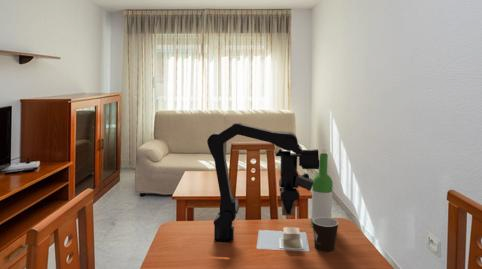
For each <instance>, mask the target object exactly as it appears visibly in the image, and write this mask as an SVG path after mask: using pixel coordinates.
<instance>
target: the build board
mask: <svg viewBox="0 0 482 269" xmlns="http://www.w3.org/2000/svg"><path fill="white" fill-rule="evenodd" d="M257 233H258V234H257V240H256V249H257V250H258V249H259V250H274V251H275V250H276V251H278V250H279V251H291V252H292V251H294V252H311V251H310V248H309V242H308V237H307V232H305V231H300V247H299V248H292V247H283V230H270V229H269V230H268V229H267V230H265V229H258V232H257Z"/></svg>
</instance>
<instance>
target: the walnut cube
mask: <svg viewBox="0 0 482 269" xmlns="http://www.w3.org/2000/svg"><path fill="white" fill-rule="evenodd" d="M281 216H286V217H287V216H289V217H290V216H292V217H295V216H296V200H295V201H294V202H293V205H292V209H291V213H290V214H287V212H286V210H285V207H284V205H283V202H282V201H281Z"/></svg>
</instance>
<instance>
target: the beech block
mask: <svg viewBox="0 0 482 269" xmlns="http://www.w3.org/2000/svg"><path fill="white" fill-rule="evenodd" d="M282 231H283V247H292V248H299V247H300V232H301V231H300V228H299V227H290V226H289V227H287V226H285V227H284V226H283V230H282Z"/></svg>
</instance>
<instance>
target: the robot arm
mask: <svg viewBox="0 0 482 269" xmlns="http://www.w3.org/2000/svg"><path fill="white" fill-rule="evenodd" d="M236 136H243V137H247V138H251V139H255V140H259V141H262V142H267V143H270V144H271V145H274V146H276V147H278V148H279V149H278V150H277V151H276V152H275V157H280V179H279V180H278V186H279V197H280V198H279V199H280V200H281V203H282V202H283V205H284V207H285V210H286V212H287V214H290V213H291V209H292V205H293V202H294V201H295V202H296V201H299V200H300V196H301V195H300V191H299V190H298V189H299V187H300V188H302V189H305V190H307V191H309V192H311V191H312V189H313V183H314V182H313V180H314V179H312V178H310V175H309V173H306V172H304V173H303V174H299V172H298V166H299V167H301V169H302V170H319V166H320V153H319V149H314V148H313V149H303V148H302V146H300V144H299V143H298V138H297V135H296V134H295V133H293V132H292V131H283V130H282V131H280V130H279V131H273V130H268V129H264V128H260V127H257V126H252V125H247V124H244V123H241V122H239V121H238V122H234V123H233V124H232V125H230V127H228V128H226V129H224V130H222V131H216V132H214V133H212V134H211V135H210V136H208V138H207V142H206V143H207V147H208V150H209V152H210V155H211V156H212V158H213V160H214V165H215V171H216V172H215V173H216V178H217V184H218V190H219V196H220V199H219V200H220V201H219V212H218V213H217V215H216V217H215V219H214V220H213V225H214V234H213V235H214V238H213V242H214V243H232V241H233V240H234V238H235V226H233V222H234V221H235V219H236V217H237V214H238V212H239V209H240V205H239V197H235V198H234V195H233V194H232V193H233V192H232V187H231V181H230V175H229V170H228V169H229V168H228V163H227V157H226V155H227V146H228V144H227V142H228V141H230V140H232V139H233V138H235V137H236Z"/></svg>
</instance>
